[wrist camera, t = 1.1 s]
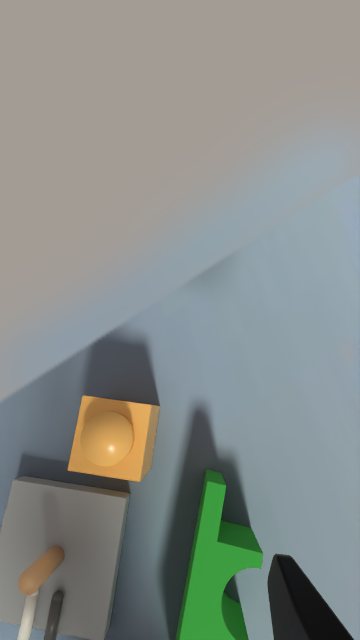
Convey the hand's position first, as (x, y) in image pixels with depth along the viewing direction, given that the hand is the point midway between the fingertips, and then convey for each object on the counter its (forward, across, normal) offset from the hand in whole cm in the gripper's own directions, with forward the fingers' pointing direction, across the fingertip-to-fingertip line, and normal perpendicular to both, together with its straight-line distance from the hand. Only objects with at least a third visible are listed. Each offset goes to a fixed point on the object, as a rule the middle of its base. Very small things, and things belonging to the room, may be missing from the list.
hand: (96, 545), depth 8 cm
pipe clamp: (+11, -6, +14) cm, 18 cm away
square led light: (+15, +1, +7) cm, 17 cm away
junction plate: (+11, +4, +14) cm, 19 cm away
